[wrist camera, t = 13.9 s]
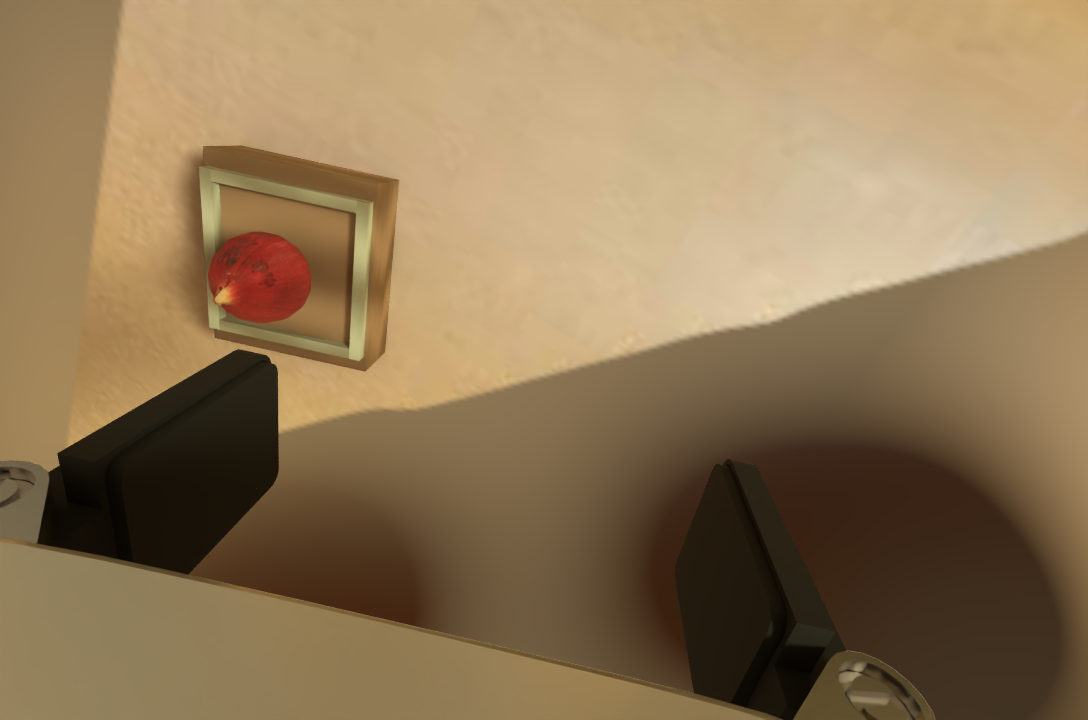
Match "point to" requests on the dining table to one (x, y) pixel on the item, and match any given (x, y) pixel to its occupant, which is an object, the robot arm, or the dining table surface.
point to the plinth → (307, 248)
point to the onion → (259, 277)
